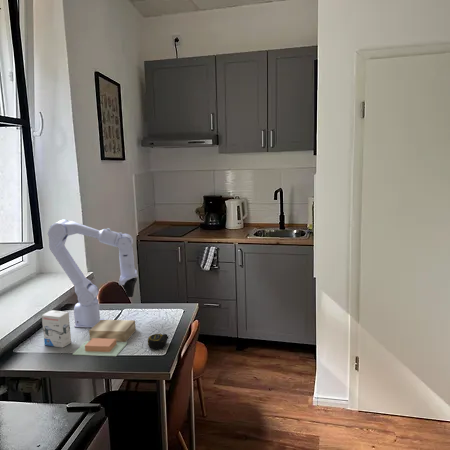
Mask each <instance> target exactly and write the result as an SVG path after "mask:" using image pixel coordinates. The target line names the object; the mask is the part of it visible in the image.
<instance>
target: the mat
mask: <svg viewBox="0 0 450 450" xmlns="http://www.w3.org/2000/svg"><path fill="white" fill-rule="evenodd" d="M89 341H90V340H86V341H84V342H83V343H82V345H80V346H79V347H78V349H76V350H75V351H74V352H73V353H72V356H93V357H94V356H95V357H96V356H97V357H98V356H99V357H117V356H118V355H119V353H121V351H122V350H123V349H124V348H125V347H126V345H127V344H128V342H127V341H126V342H117V341H116V343H117V344H116V345H115V346H114V347H113V349H112V350H111V351H110V352H98V351H85V345H86V344H87V343H88V342H89Z"/></svg>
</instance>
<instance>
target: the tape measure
mask: <svg viewBox="0 0 450 450" xmlns="http://www.w3.org/2000/svg"><path fill="white" fill-rule="evenodd" d="M169 338H170V337H169V336H168V334H166V333H163V334H161V333H155V334H151V335H150V336H149V337H148V339H147V346H148V348H149V349H151V350H161V349H165V348H166V345H167V344H168V343H167V342H168V340H169Z"/></svg>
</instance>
